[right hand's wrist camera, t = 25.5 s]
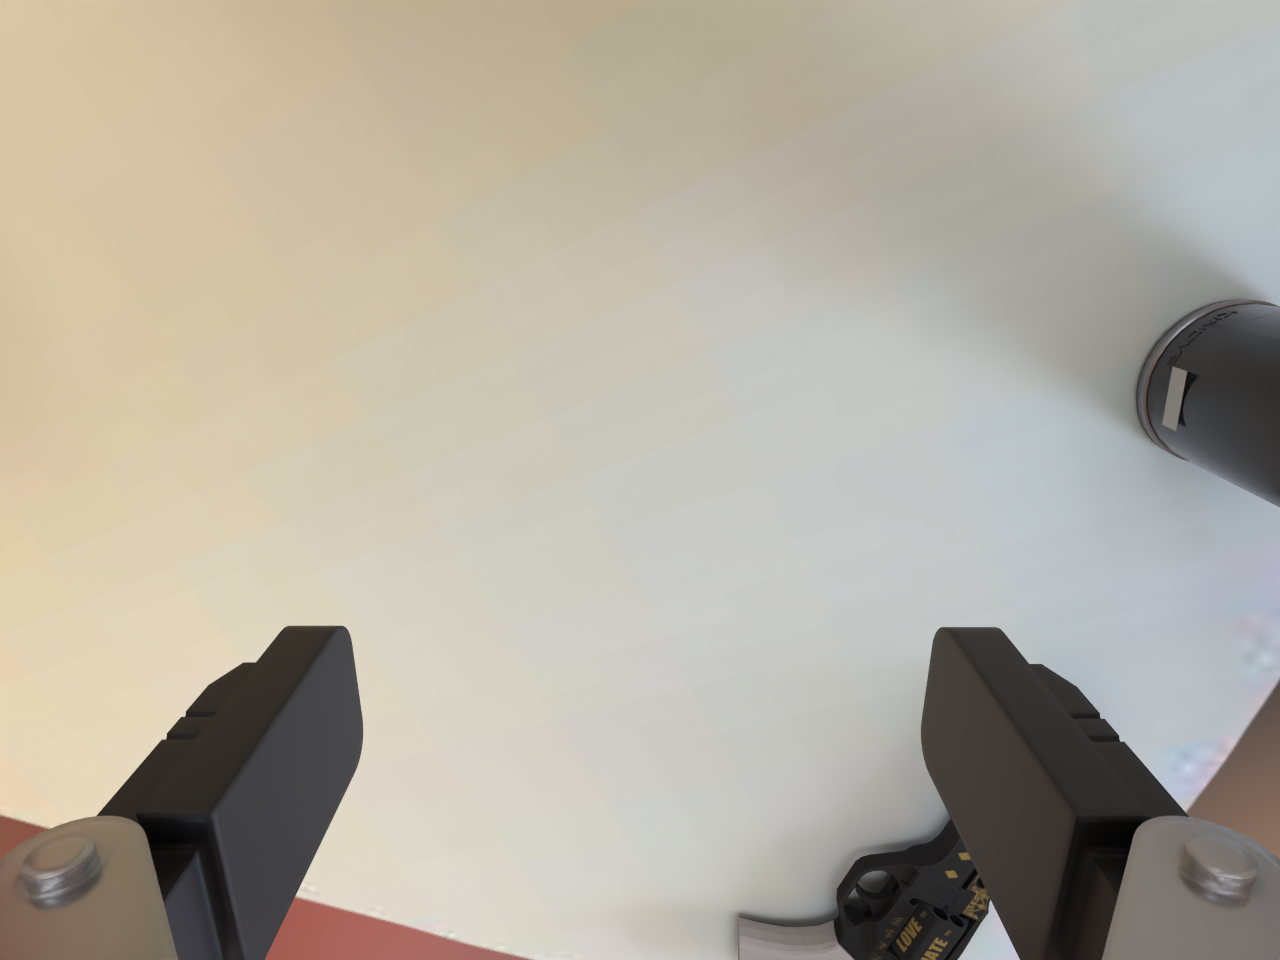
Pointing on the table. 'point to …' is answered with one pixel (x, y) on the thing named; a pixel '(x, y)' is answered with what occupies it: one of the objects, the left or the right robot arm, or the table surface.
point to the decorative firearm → (888, 911)
